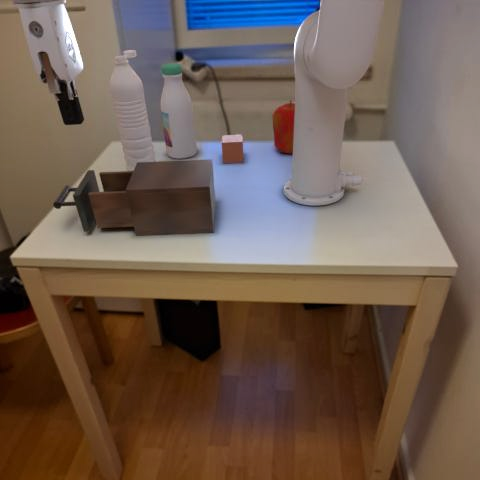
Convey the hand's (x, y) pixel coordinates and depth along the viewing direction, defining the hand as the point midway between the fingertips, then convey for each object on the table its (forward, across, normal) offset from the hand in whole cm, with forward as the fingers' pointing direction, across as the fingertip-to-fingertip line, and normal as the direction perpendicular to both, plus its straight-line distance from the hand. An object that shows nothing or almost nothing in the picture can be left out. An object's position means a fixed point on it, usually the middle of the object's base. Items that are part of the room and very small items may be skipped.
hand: (74, 122), depth 76 cm
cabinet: (+18, -3, -16) cm, 24 cm away
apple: (+18, +30, -41) cm, 54 cm away
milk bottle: (+18, +31, -14) cm, 39 cm away
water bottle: (+18, +16, -7) cm, 25 cm away
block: (+18, +26, -27) cm, 42 cm away
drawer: (+17, -3, -3) cm, 17 cm away
